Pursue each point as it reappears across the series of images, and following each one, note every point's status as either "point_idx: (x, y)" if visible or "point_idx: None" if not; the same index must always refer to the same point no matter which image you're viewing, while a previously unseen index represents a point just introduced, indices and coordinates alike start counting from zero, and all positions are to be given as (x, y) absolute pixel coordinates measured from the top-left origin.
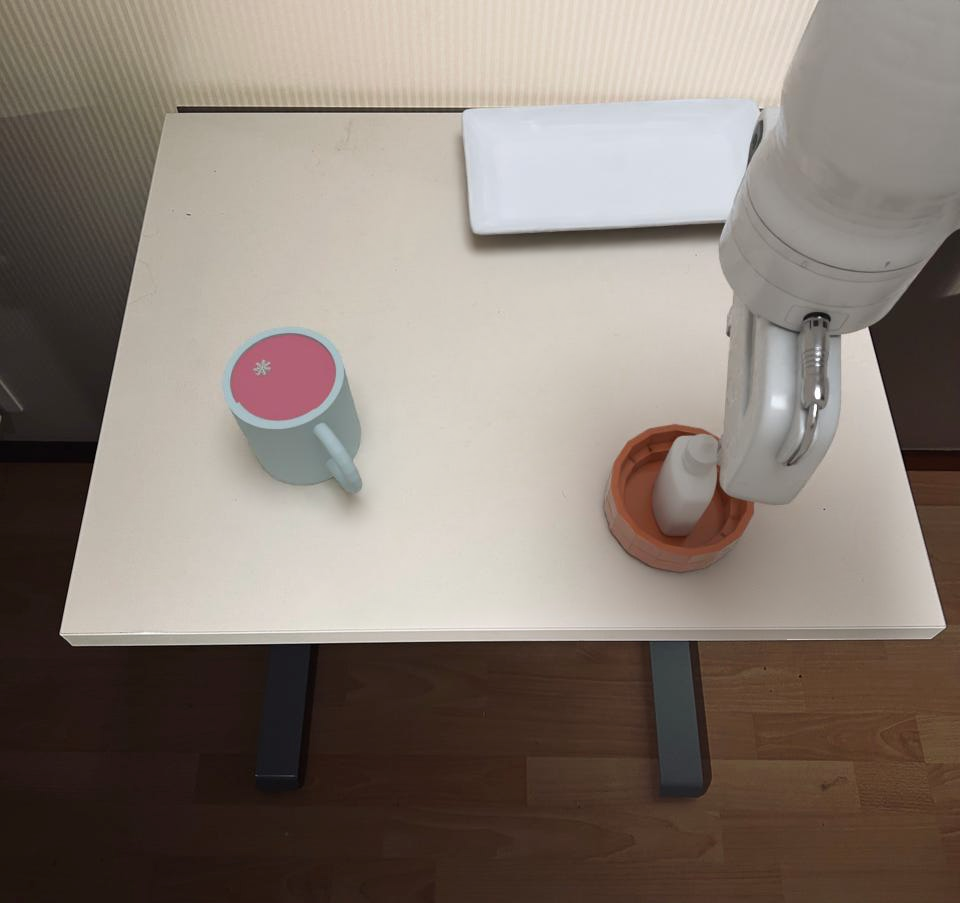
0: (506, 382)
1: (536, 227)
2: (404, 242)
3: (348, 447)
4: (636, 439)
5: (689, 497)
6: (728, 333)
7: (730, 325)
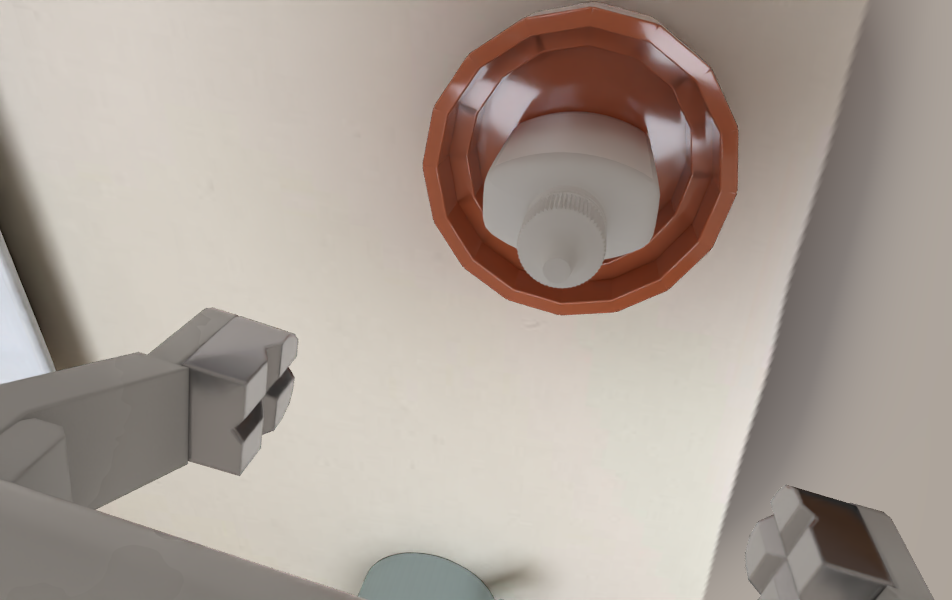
0: (328, 374)
1: (23, 323)
2: None
3: (454, 598)
4: (458, 251)
5: (646, 239)
6: (282, 416)
7: (256, 452)
